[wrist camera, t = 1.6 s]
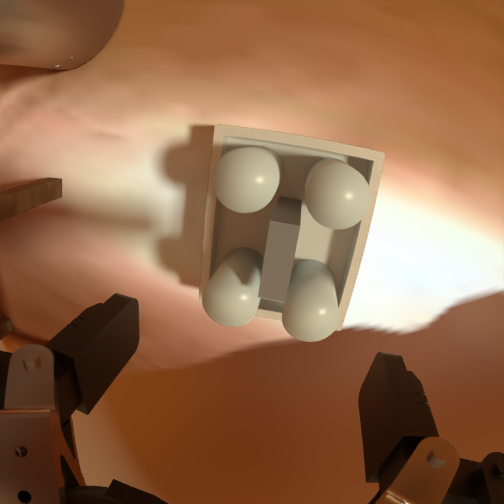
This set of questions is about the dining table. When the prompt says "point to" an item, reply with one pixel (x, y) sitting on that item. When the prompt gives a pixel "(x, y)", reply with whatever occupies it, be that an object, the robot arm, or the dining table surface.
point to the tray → (285, 228)
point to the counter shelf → (22, 200)
